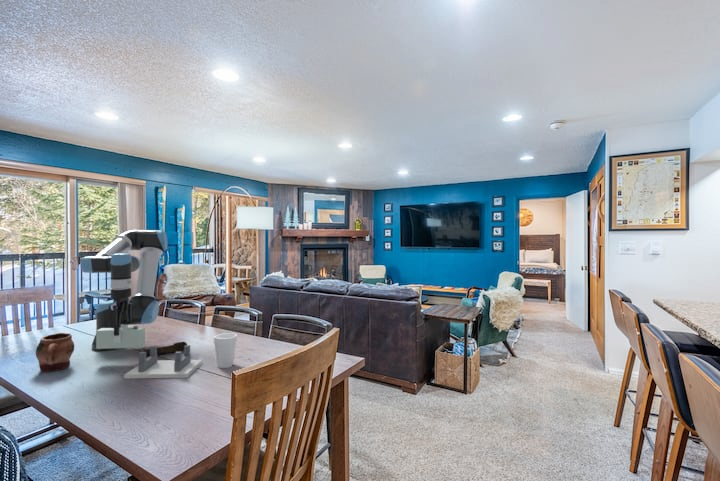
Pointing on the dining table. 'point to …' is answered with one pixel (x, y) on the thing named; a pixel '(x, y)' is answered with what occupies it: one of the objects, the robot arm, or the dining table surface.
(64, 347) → the decorative planter
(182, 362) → the clip rack
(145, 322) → the robot arm
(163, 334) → the dining table surface
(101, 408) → the dining table surface
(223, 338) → the foam cup
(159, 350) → the hand tool
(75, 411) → the dining table surface
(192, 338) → the dining table surface
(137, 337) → the tapered bar with knob
